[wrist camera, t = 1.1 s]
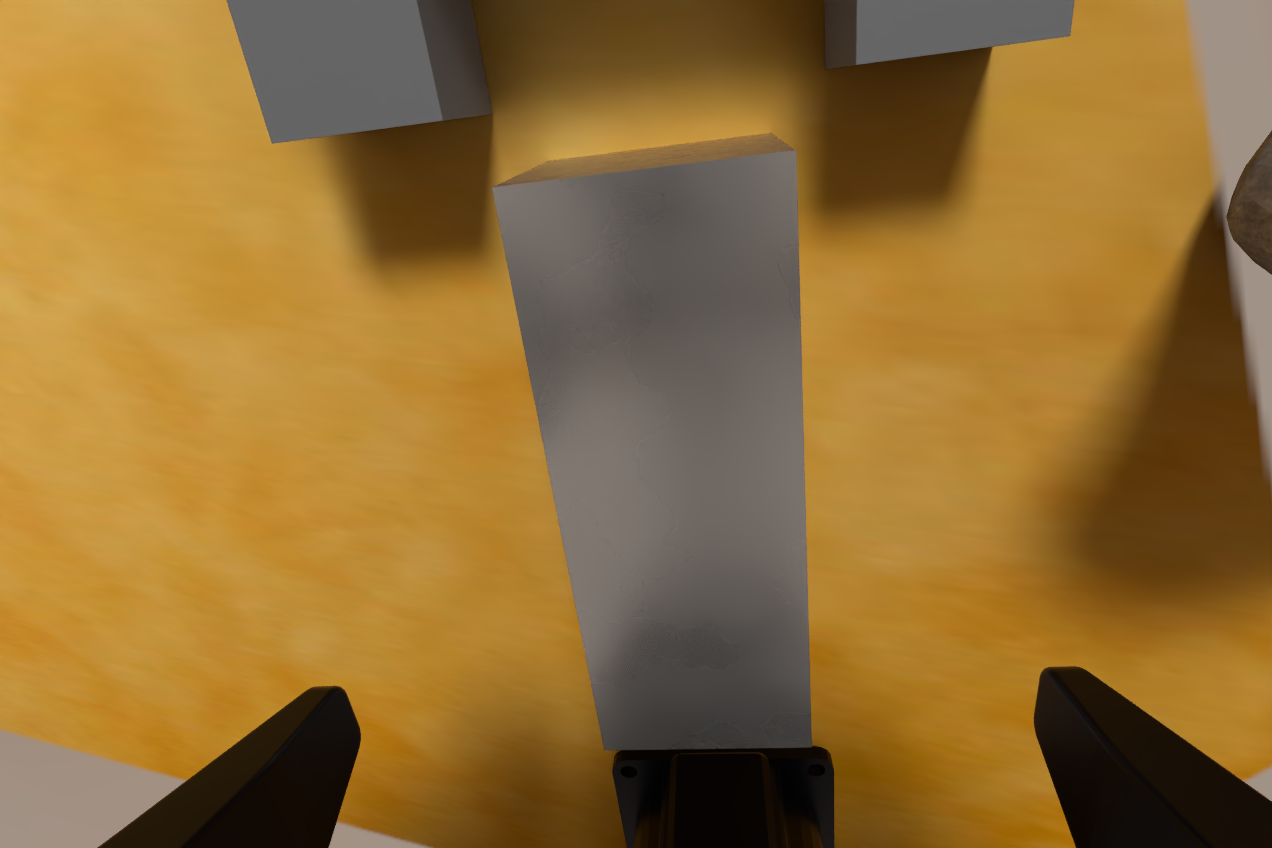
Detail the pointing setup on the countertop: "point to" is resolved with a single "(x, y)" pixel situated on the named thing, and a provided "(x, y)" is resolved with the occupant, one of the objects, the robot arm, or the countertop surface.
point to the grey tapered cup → (1254, 207)
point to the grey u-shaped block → (453, 68)
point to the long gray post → (674, 430)
